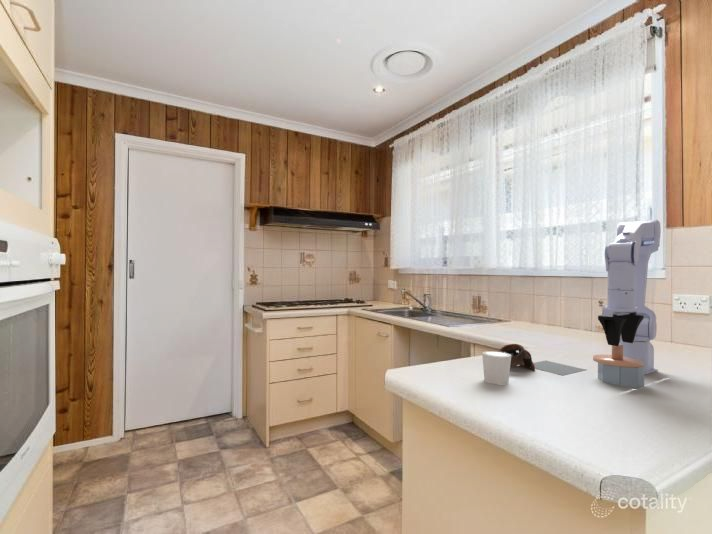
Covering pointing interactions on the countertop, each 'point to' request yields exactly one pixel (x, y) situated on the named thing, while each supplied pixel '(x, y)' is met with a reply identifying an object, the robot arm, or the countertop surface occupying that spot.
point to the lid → (618, 359)
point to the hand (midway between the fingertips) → (620, 343)
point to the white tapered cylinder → (496, 367)
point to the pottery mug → (518, 356)
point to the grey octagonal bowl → (621, 375)
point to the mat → (556, 368)
